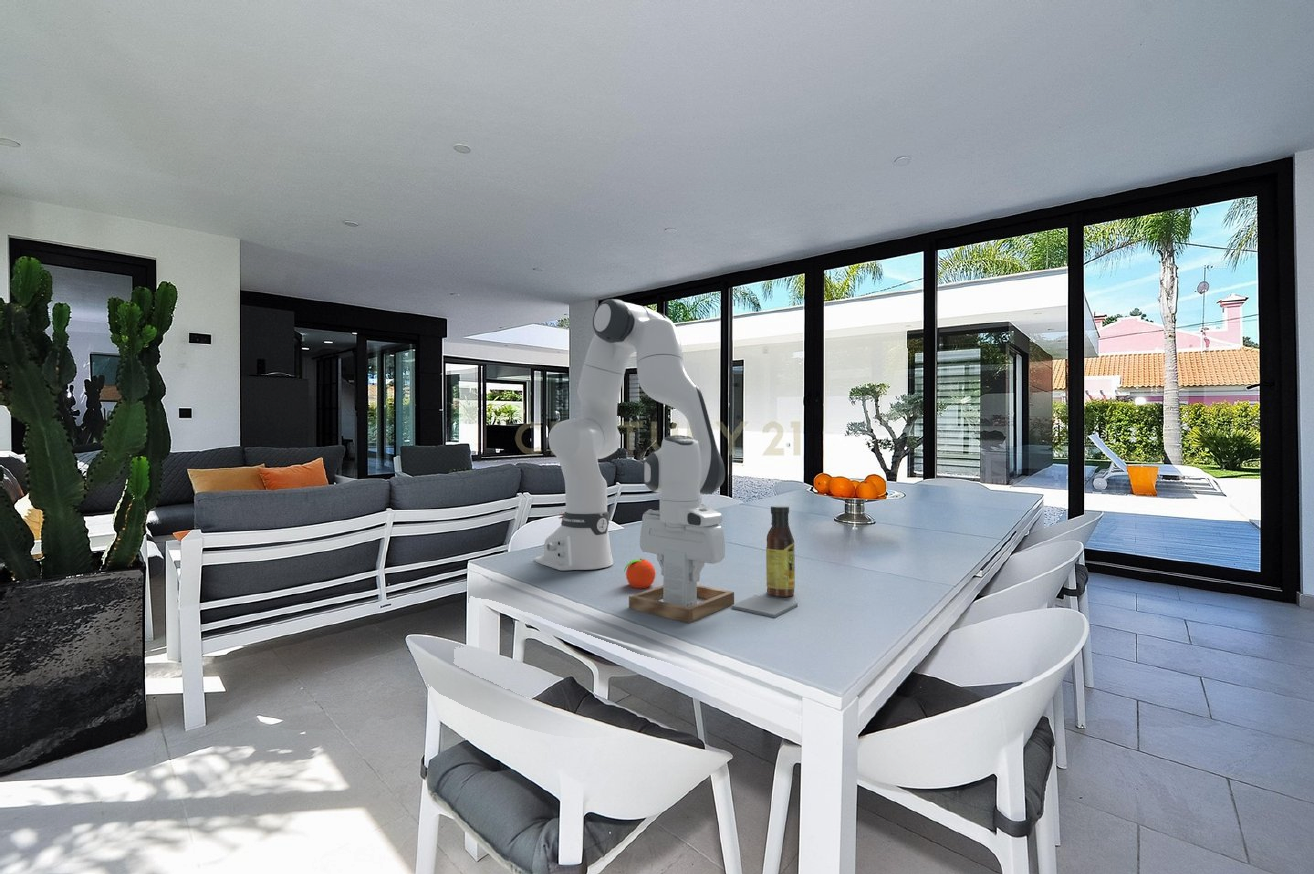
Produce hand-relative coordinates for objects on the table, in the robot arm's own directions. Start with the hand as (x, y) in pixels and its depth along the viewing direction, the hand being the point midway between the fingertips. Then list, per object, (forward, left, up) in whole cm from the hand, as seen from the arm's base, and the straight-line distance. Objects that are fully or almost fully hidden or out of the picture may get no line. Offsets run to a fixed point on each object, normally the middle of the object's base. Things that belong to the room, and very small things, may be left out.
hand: (680, 578), depth 124 cm
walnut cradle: (0, 0, -6) cm, 6 cm away
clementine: (-16, +5, -6) cm, 18 cm away
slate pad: (+14, +10, -6) cm, 19 cm away
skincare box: (0, 0, -6) cm, 6 cm away
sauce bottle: (+12, +21, -6) cm, 25 cm away
